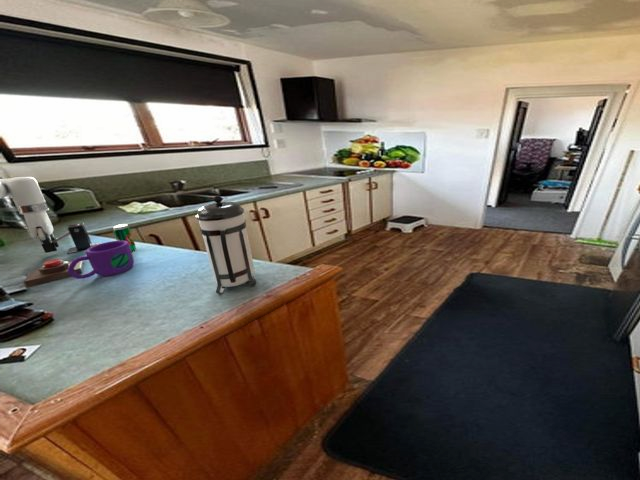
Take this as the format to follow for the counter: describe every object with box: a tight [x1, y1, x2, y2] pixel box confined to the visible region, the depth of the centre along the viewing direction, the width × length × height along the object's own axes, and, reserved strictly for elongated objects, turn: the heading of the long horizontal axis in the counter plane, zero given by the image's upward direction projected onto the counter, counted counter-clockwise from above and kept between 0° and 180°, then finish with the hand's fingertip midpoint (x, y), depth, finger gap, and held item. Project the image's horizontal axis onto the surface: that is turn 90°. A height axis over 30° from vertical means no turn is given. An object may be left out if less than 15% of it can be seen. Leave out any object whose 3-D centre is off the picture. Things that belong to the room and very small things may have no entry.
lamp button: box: [43, 258, 62, 268], centre depth 98 cm, size 4×4×2 cm
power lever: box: [52, 223, 79, 243], centre depth 116 cm, size 12×5×2 cm, turn 136°
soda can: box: [112, 223, 137, 253], centre depth 116 cm, size 5×5×12 cm
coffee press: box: [195, 195, 257, 295], centre depth 85 cm, size 17×16×30 cm
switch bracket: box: [67, 222, 102, 255], centre depth 119 cm, size 10×8×12 cm
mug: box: [68, 240, 135, 280], centre depth 97 cm, size 17×11×10 cm, turn 160°
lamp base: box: [24, 260, 85, 288], centre depth 99 cm, size 13×11×4 cm
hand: (52, 249), depth 114 cm, fingers closed on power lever, 5 cm apart
